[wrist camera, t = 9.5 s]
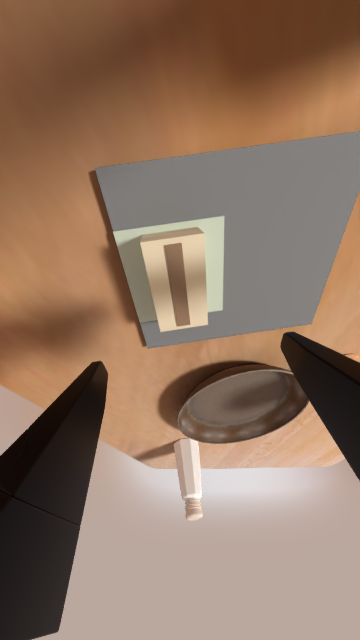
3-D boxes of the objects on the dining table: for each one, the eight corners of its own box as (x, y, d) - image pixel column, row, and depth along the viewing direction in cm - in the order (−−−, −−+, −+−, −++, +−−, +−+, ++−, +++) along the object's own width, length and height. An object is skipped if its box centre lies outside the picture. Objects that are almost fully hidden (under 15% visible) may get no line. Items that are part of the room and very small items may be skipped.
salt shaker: (202, 437, 39) (215, 513, 30) (194, 449, 42) (204, 521, 33) (176, 437, 38) (182, 515, 29) (170, 449, 40) (174, 524, 31)
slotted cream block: (202, 309, 20) (208, 325, 18) (160, 315, 20) (160, 332, 18) (197, 226, 15) (204, 233, 13) (142, 234, 15) (139, 242, 13)
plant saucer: (301, 406, 36) (313, 423, 33) (201, 437, 39) (204, 455, 37) (293, 330, 25) (310, 348, 22) (152, 383, 28) (152, 404, 25)
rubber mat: (373, 130, 14) (383, 127, 13) (308, 321, 23) (312, 324, 23) (97, 168, 13) (94, 167, 13) (147, 345, 23) (147, 349, 23)
